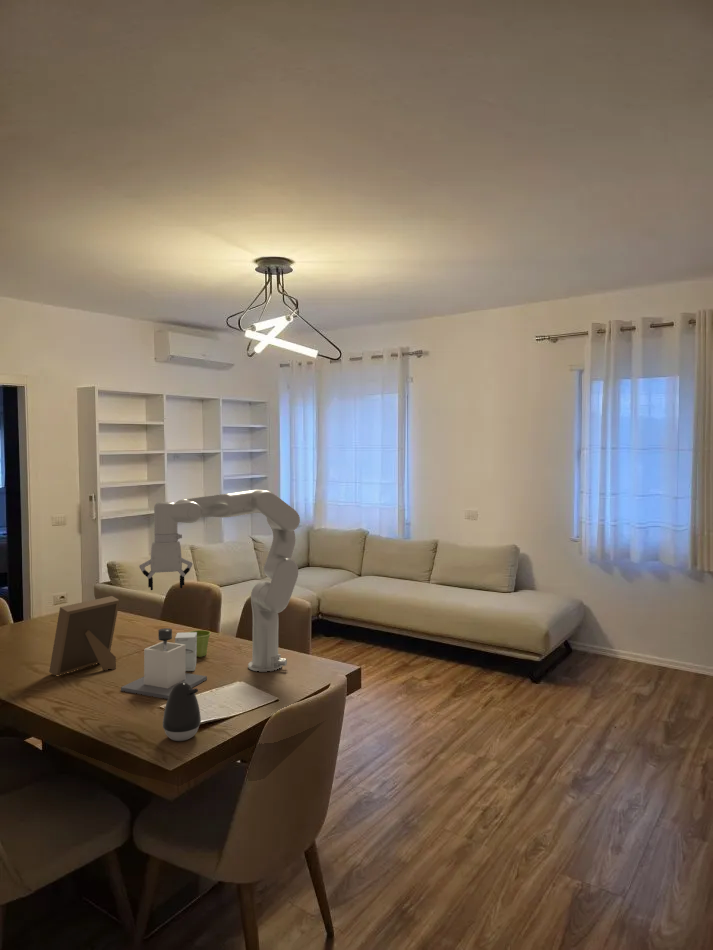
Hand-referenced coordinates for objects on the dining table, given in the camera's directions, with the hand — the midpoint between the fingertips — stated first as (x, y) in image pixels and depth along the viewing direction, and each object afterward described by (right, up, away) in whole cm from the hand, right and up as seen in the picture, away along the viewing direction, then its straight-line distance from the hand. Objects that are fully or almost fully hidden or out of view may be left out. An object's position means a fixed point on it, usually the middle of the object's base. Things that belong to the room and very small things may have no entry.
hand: (166, 588), depth 214 cm
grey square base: (-1, -33, +1) cm, 33 cm away
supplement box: (+2, -33, +18) cm, 38 cm away
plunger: (-1, -32, +1) cm, 32 cm away
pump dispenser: (+16, -35, -39) cm, 55 cm away
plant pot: (+2, -33, +34) cm, 47 cm away
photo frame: (-33, -33, +15) cm, 49 cm away
